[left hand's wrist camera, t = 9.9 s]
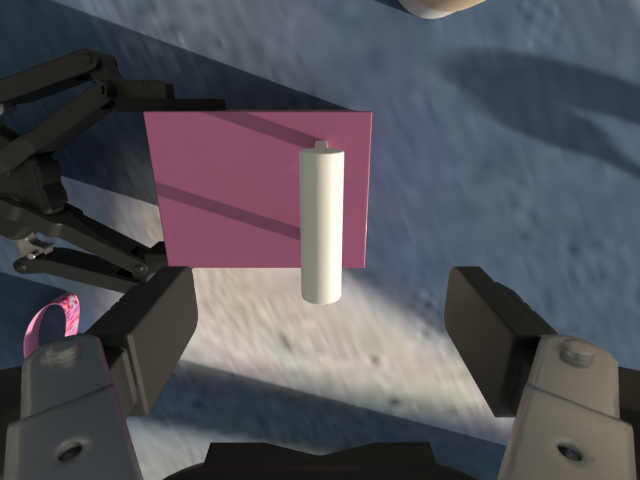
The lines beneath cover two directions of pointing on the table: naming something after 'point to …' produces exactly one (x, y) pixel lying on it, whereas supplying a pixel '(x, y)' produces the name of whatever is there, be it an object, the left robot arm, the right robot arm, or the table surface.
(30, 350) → the headband
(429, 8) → the coffee cup
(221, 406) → the table surface
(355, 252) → the lid
